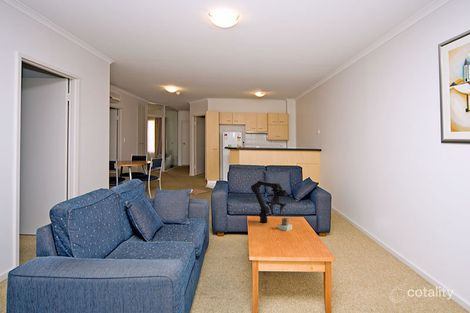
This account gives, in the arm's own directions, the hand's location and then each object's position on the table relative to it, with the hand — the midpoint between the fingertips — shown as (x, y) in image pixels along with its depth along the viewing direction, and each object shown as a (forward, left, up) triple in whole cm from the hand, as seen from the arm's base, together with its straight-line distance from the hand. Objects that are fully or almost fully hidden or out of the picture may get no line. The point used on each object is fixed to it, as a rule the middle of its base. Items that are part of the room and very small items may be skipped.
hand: (275, 212), depth 247 cm
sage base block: (+12, -5, -12) cm, 18 cm away
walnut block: (+12, -5, -8) cm, 16 cm away
